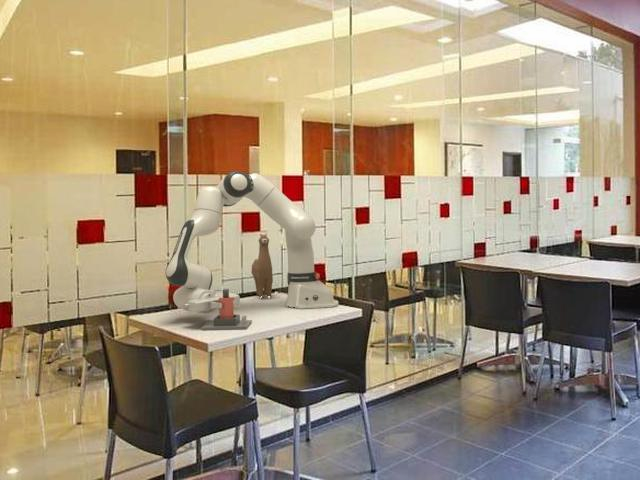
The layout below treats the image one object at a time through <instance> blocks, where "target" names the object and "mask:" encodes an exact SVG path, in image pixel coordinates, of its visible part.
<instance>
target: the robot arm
mask: <svg viewBox="0 0 640 480" xmlns="http://www.w3.org/2000/svg"><path fill="white" fill-rule="evenodd" d="M243 198H246V199H249V200H250V201H252V202H253V203H254V204H255V205H256V206H257V207H258V208H259V209H260V210H261V211H262V212H263V213H264V214H266V215H267V217H269V218H270V219H271V220H272V221H274V223H276V224H277V225H279V227H280V228H282V229H284V232H285V242H286V252H287V268H288V271H287V275H286V276H287V281H286V282H287V286H288V287H287V289H288V291H287V298H286V303H285V307H288V306H289V307H288V308H293V307H295V308H294V309H298V310H299V309H301V310H302V309H318V308H319V309H320V308H334V307H337V306H338V305H339V301H338V299H334V295H333V294H334V293H333V291H332V289H331V288H330V287H329V286H328V285H326V284H324V283H323V282H322V281H321V280H320V276H321V275H320V273H319V272H317V271H315V256H314V255H315V254H314V250H313V243H312V237H313V235H314V234H315V232H316V223H315V220H314V219H313V218H312V216H310V215H309V214H307V212H305V211H304V210H303V209H302V208H300V207H299V206H298V205H297V204H295V203H294V201H292V200H291V199H290V198H288V197H287V195H285V194H284V193H283V192H282V191H281V190H280V189H278V188H277V187H276V186H275V185H274V184H273V183H272V182H271V181H269V180H268V179H267V178H265V177H264V176H262V175H261V174H259V173H255V172H253V173H251V174H246V173H244V172H242V171H238V170H236V171H235V170H234V171H231V172H228V174H226V175H225V176H224V177H222V179H221V180H220V182H218V184H217V185H216V187H215V186H210V185H209V186H204V187H202V188H201V189H200V190H199V191H198V194H197V197H196V201H195V204H194V208H193V212H192V213H193V214H192V215H191V218H189V220H187V221H185V222H184V224H183V225H182V228H181V230H180V233H179V235H178V238H177V241H176V245H175V248H174V250H173V253H172V255H171V258H170V260H169V262H168V263H167V265H166V268H165V277H166V279H167V281H168V283H169V284H170V285H171V286H177V287H179V288H178V289H176V290H175V291H174V293H173V295H172V297H173V298H172V299H173V303H174V304H175V305H176V307H178V308H179V309H182V310H184V311H188V312H194V313H198V314H199V313H200V314H207V315H208V314H210V313H212V312H214V311H216V310H218V309H219V308H224V303H219V298H221V297H223V289H222V290H220V289H219V290H215V289H214V290H212V289H211V287H212V284H213V273H212V271H211V269H210V268H209V267H208V266H204V265H201V264H197V263H193V262H190V261H188V255H189V252H190V250H191V246H192V244H193V240H194V239H195V238H197V237H204V236H209V235H212V234H214V233H215V232H217V230H218V229H219V228H220V225H221V222H222V216H223V215H222V214H223V208H224V207H225V208H226V207H232V206H234V205H236V204H238V203H239V202H240V201H241V200H242V199H243ZM229 297H233V307H234V306H239V305H240V303H241V297H240V295H239V294H237V293H233V292H229Z"/></svg>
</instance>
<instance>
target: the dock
mask: <svg viewBox="0 0 640 480" xmlns="http://www.w3.org/2000/svg"><path fill="white" fill-rule="evenodd" d="M252 323H253V320H252V319H247V315H242V316H241V314H234V318H227V319H220V314H218V315H216V316H215V317H214V318H213V320H208V321H207V322H206V323H205V324H204V325H202V326H201V328H200V330H201V331H233V330H247V329H249V327H250V326H251V325H252Z"/></svg>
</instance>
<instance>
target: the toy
mask: <svg viewBox="0 0 640 480" xmlns="http://www.w3.org/2000/svg"><path fill="white" fill-rule="evenodd" d="M259 236H260V237H259V239H258V244H259V249H258V258H256V259H254V260H253V262H252V265H251V271H250V272H251V275H252V277H253V280H254V283H255V284H254V285H255V291H256V297H257V296H259V298H260V297H261V296H263V297H264V296H265V295H267V296H271V297H272V286H273V283H274V281H273V279H274V277H273V265H272V264H273V263H272V260H271V256H270V252H269V251H270V250H269V242H270V239H269V238H268V234H267V233H266V234H259ZM267 296H266V297H267Z"/></svg>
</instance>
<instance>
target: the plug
mask: <svg viewBox="0 0 640 480" xmlns="http://www.w3.org/2000/svg"><path fill="white" fill-rule="evenodd" d="M222 290H223V297H221V298H219V303H224V308H219V315H220V319H227V318H234V315H235V310H234V306H233V297H229V293H230V291H229V290H230V289H229V288H222Z"/></svg>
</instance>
